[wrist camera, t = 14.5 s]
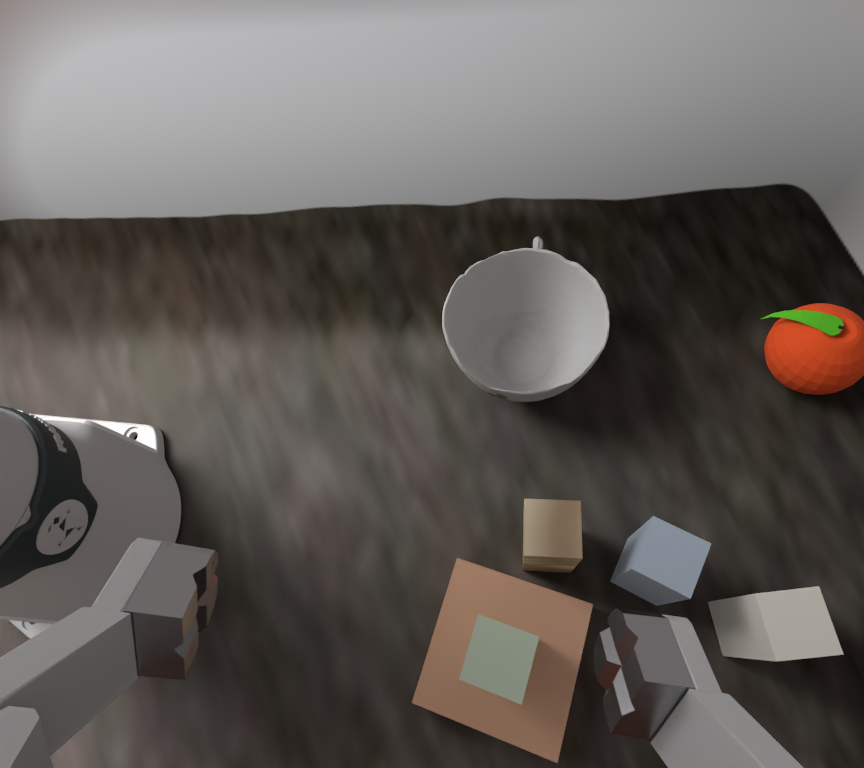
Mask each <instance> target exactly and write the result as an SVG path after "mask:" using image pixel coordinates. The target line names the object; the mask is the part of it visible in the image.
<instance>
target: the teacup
mask: <svg viewBox="0 0 864 768" xmlns="http://www.w3.org/2000/svg"><path fill="white" fill-rule="evenodd" d="M609 325H610V321H609V310H608V305H607V301H606V297H605V295H604V293H603V291H602V289H601V288H600V286H599V284H598V282H597V280H596V278H595V279H594V277H593V276H592V275H591V274H589V273H588V272H587V271H586V270H585V269H584V268H583V267H582V266H580V265H579V264H578V263H576V262H571V261H569V260H566V259H565V258H564V257H563V256H561V255H559V254H557V253H555V252H551V251H548V250H543V240H542V239H541V238H540V237H535V239H534V240H533V248H521V249H516V250H511V251H508V252H505V251H502V252H501V253H499V254H497V255H494V256H492V257H489V258H488V259H486V260H482V261H479V262H477V263H475V264H474V265H472V266H471V267H469V269H468V270H467V271H466V272H465V274H464V275H463V274H462V275H460V276H459V277H458V278H457V280H456V281H455V283H454V284H453V286H452V287H451V289H450V291H449V294H448V296H447V298H446V301H445V304H444V308H443V314H442V327H443V332H444V336H445V339H446V342H447V345H448V348H449V350H450V352H451V355H452V356H453V358H454V360H455V361H456V363H457V365H458V366H459V367H460V369H461V370H462V371H463V372H464V374H465V375H466V376H467V377H468V378H469V379H470V380H471V381H472V382H473V383H474V384H476V385H477V386H478V387H479V388H481V389H482V390H484V391H485V392H487V393H489V394H491V395H493V396H496V397H498V398H501V399H505V400H509V401H515V402H533V401H539V400H544V399H548V398H551V397H553V396H555V395H558V394H560V393H562V392H564V391H566V390H567V389H569V388H570V387H572V386H573V385H574V384H575V383H577V382H578V381H579V380H580V379H581V378H582V377H583V376H584V375H585V374H586V373H587V372H588V371H589V370H590V369H591V367H592V366H593V365H594V363H595V362H596V360H597V359H598V358H599V356H600V354H601V353H602V351H603V349H604V347H605V345H606V342H607V339H608V336H609Z"/></svg>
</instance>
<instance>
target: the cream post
mask: <svg viewBox="0 0 864 768" xmlns="http://www.w3.org/2000/svg"><path fill="white" fill-rule="evenodd" d="M708 605H709V609H710V612H711V616H712V620H713V623H714V627H715V630H716V634H717V637H718V641H719V644H720V648H721V651H722V655H723V656H727V657H736V658H746V659H756V660H766V661H776V662H777V661H787V660H796V659H806V658H815V657H825V656H834V655H844V654H843V651H842V649H841V646H840V643H839V640H838V637H837V635H836V632H835V629H834V626H833V624H832V621H831V618H830V615H829V613H828V610H827V607H826V604H825V602H824V599H823V596H822V593H821V590H820V588H819V586H817V587H808V588H799V589H791V590H782V591H773V592H765V593H756V594H750V595H744V596H738V597H733V598H727V599H721V600H716V601H710V602H708Z"/></svg>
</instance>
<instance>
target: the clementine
mask: <svg viewBox="0 0 864 768" xmlns="http://www.w3.org/2000/svg"><path fill="white" fill-rule="evenodd" d="M769 317H781V319H779V320H778V321H777V322H776V323H775V324H774V325H773V327H772V328H771V330H770V332H769V334H768V336H767V338H766V342H765V346H764V348H765V359H766V363H767V365H768V368H769V370H770V372H771V373H772V374H773V376H774V377H775V378H776V379H777V380H778V381H779V382H781V383H782V384H783V385H784V386H786V387H788V388H790V389H792V390H794V391H797V392H800V393H804V394H813V395H824V394H831V393H836V392H838V391H840V390H843V389H845V388H847V387H849V386H851V385H853V384H854V383H856V382H857V381H858V380H859V379H860V378H861V377H862V376H863V375H864V321H863V320H862V319H861V318H860V317H859V316H858V315H856V314H855V313H854V312H852V311H850V310H848V309H846V308H844V307H840V306H836V305H832V304H823V303H817V304H810V305H805V306H802V307H799V308H796V309H794V310H791V311H781V312H777V313H772V314H770V315H768V316H766V317H764V318H762V319H765V318H769Z"/></svg>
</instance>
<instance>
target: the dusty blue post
mask: <svg viewBox="0 0 864 768" xmlns="http://www.w3.org/2000/svg"><path fill="white" fill-rule="evenodd" d="M710 546H711V543H709V542H707V541H705V540H703V539H701V538H699V537H697V536H694V535H692V534H690V533H688V532H686V531H684V530H682V529H680V528H678V527H675V526H673V525H671V524H669V523H667V522H665V521H663V520H661V519H659V518H657V517H654V516H653V517H652V518H650V519H649V520H648V521H647V522H646V523H645V524H644V525H643V526H641V527H640V528H639V529H638V530H637V531H636V532H635V533H633V534H632V535H631V536H630V537H629V538H628V539H627V542H626V544H625V546H624V549H623V551H622V553H621V556H620V558H619V561H618V563H617V565H616V568H615V570H614V572H613V575H612V577H611V579H610V582H612V583H614V584H616V585H618V586H619V587H621V588H623V589H625V590H627V591H629V592H631V593H633V594H635V595H637V596H639V597H641V598H642V599H644V600H646V601H648V602H650V603H652V604H654V605H656V606H658V605H663V604H668V603H673V602H678V601H683V600H688V599H691V597H692V594H693V591H694V589H695V586H696V583H697V581H698V578H699V575H700V573H701V570H702V567H703V565H704V562H705V559H706V557H707V554H708V551H709V549H710Z"/></svg>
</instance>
